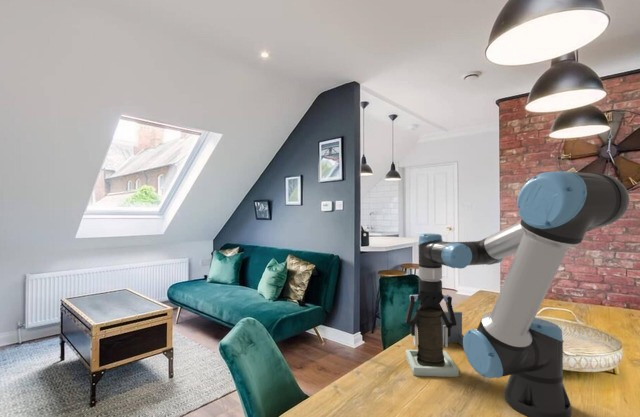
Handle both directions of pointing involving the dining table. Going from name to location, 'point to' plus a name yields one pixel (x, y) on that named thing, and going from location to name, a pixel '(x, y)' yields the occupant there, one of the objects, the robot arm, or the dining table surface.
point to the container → (430, 338)
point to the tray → (420, 370)
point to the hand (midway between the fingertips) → (430, 345)
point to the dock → (454, 328)
